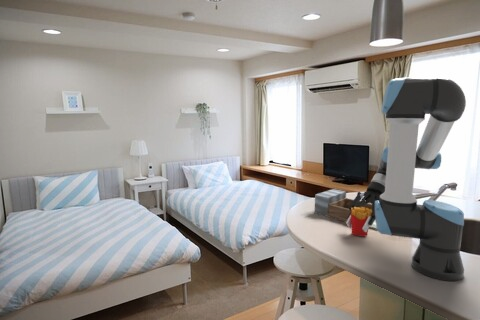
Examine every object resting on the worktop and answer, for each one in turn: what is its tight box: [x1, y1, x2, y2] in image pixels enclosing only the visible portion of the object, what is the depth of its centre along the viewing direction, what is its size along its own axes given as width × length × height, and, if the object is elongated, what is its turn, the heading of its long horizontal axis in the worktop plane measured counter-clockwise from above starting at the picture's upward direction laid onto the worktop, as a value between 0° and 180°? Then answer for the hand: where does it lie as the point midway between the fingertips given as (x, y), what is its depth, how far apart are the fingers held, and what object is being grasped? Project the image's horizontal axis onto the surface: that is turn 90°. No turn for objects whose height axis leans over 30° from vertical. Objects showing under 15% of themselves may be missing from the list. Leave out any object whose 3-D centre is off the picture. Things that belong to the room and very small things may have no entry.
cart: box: [314, 188, 378, 231], centre depth 156 cm, size 18×34×10 cm, turn 41°
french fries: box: [350, 207, 372, 237], centre depth 133 cm, size 8×4×12 cm, turn 71°
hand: (355, 227), depth 131 cm, fingers closed on french fries, 7 cm apart
